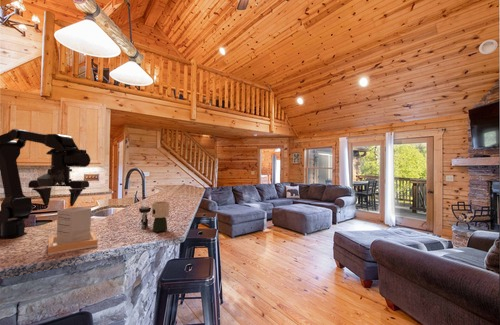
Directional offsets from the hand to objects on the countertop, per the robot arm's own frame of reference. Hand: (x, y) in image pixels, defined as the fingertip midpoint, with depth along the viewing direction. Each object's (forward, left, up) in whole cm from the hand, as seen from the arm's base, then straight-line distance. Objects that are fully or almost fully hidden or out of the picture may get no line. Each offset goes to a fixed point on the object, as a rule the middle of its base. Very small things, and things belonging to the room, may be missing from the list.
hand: (59, 205), depth 88 cm
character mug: (+36, +10, -13) cm, 40 cm away
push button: (+27, +16, -13) cm, 34 cm away
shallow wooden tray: (+10, -7, -13) cm, 18 cm away
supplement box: (+10, -7, -13) cm, 17 cm away
